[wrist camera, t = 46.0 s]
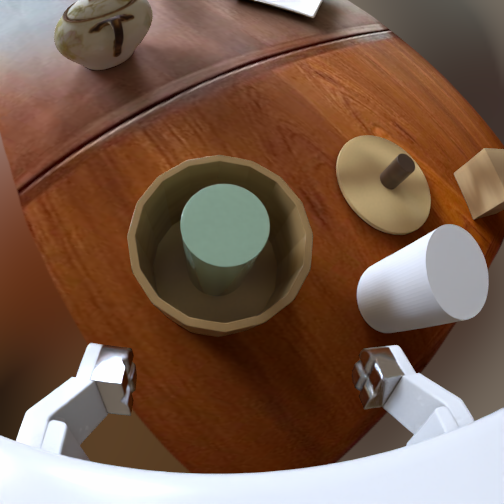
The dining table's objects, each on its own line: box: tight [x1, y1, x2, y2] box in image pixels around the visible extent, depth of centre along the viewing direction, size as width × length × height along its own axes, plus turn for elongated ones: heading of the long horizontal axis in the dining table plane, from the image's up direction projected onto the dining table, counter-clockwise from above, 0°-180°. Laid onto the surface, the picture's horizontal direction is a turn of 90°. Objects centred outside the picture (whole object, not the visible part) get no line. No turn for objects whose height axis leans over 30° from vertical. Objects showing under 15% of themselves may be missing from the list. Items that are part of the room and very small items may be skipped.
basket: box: [127, 155, 313, 337], centre depth 27 cm, size 13×13×10 cm
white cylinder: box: [357, 224, 488, 333], centre depth 27 cm, size 8×8×12 cm
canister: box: [180, 184, 270, 296], centre depth 25 cm, size 6×6×11 cm
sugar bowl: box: [54, 0, 153, 70], centre depth 31 cm, size 20×15×15 cm
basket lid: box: [336, 136, 431, 235], centre depth 35 cm, size 14×14×6 cm
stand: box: [454, 148, 504, 220], centre depth 37 cm, size 8×8×8 cm
